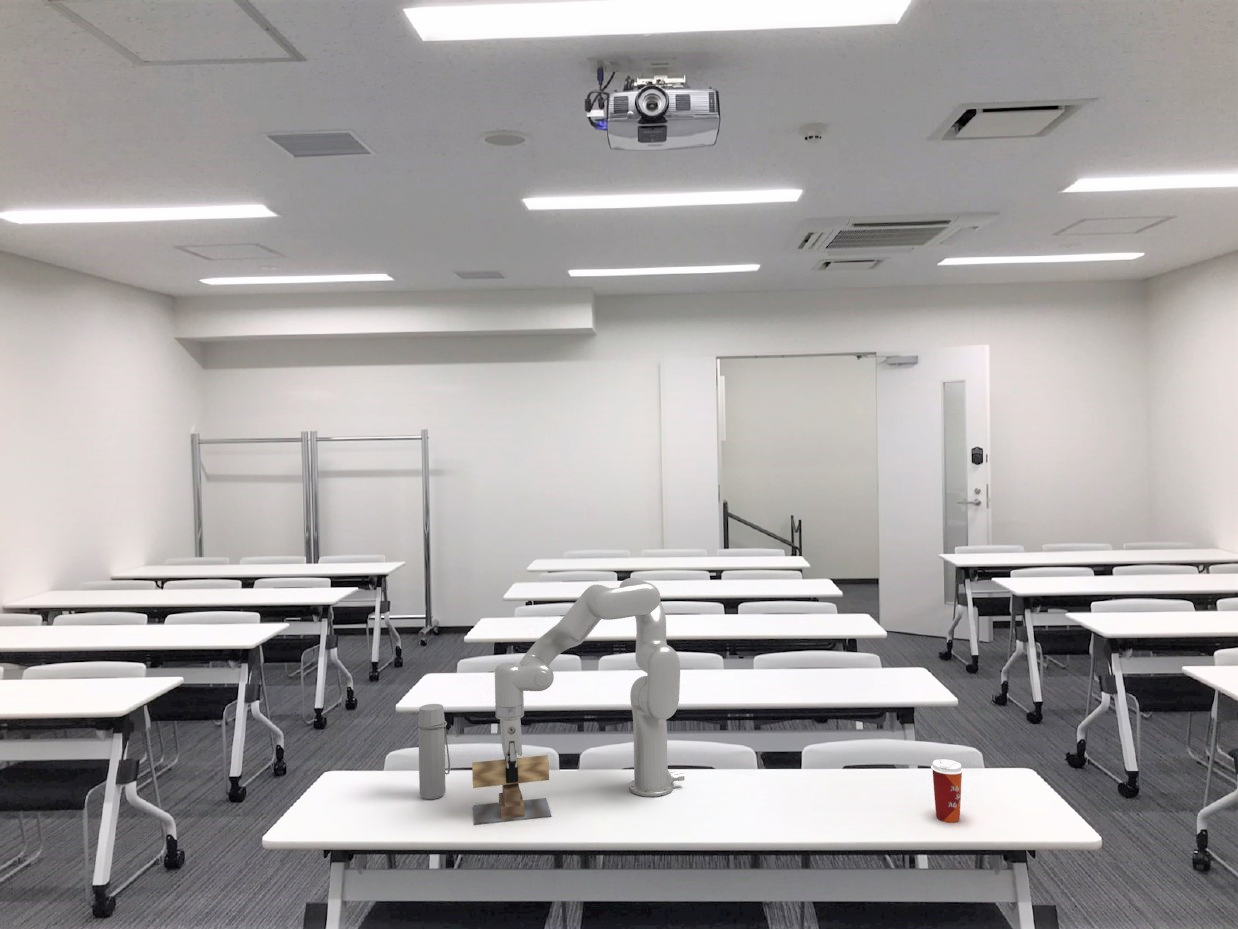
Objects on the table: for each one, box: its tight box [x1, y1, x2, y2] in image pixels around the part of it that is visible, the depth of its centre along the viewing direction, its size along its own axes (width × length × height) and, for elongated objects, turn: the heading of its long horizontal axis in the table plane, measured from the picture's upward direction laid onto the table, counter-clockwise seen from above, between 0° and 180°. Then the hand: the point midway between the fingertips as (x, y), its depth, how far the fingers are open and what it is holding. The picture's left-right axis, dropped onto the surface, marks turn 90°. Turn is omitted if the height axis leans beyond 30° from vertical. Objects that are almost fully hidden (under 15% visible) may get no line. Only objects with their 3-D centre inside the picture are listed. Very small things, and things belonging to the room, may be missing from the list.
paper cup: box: [930, 758, 964, 824], centre depth 216 cm, size 8×8×14 cm
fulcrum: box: [472, 783, 552, 826], centre depth 225 cm, size 20×12×7 cm, turn 102°
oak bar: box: [471, 754, 550, 789], centre depth 225 cm, size 20×5×5 cm, turn 102°
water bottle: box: [417, 703, 451, 800], centre depth 237 cm, size 9×8×25 cm
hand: (511, 777), depth 225 cm, fingers closed on oak bar, 4 cm apart
